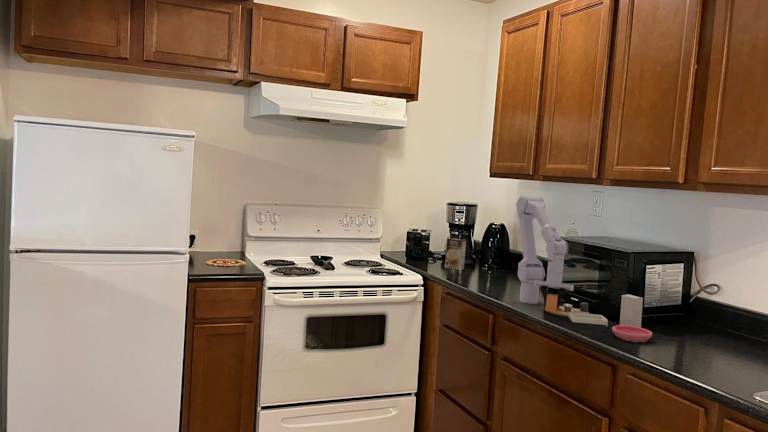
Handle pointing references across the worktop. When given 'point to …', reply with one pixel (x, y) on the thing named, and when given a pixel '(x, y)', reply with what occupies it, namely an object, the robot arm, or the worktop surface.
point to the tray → (588, 318)
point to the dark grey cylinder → (582, 309)
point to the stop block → (551, 303)
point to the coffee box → (455, 253)
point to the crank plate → (564, 311)
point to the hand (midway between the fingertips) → (551, 306)
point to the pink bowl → (632, 333)
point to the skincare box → (631, 310)
